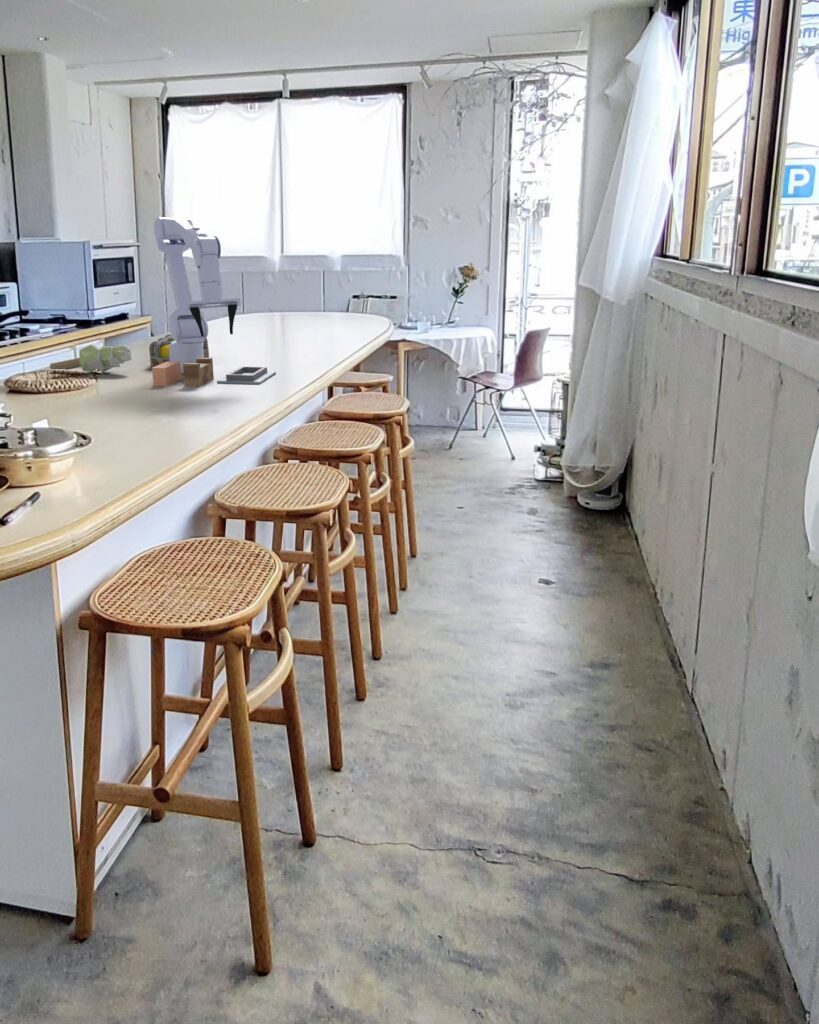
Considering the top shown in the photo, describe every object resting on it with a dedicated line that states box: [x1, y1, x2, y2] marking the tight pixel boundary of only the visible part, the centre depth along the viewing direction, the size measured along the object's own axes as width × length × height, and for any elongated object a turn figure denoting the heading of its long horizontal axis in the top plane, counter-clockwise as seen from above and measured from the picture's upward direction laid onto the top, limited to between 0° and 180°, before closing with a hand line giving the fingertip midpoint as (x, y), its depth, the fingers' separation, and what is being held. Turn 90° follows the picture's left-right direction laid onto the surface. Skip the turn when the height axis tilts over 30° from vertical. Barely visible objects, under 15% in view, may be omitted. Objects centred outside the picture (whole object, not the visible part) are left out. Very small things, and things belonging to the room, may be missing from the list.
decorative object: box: [49, 344, 133, 375], centre depth 244 cm, size 9×10×25 cm
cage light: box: [148, 333, 210, 369], centre depth 264 cm, size 15×8×30 cm
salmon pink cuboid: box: [151, 361, 183, 387], centre depth 231 cm, size 12×4×5 cm, turn 175°
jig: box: [216, 366, 277, 385], centre depth 238 cm, size 12×18×2 cm, turn 175°
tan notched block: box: [183, 357, 215, 388], centre depth 230 cm, size 12×4×6 cm, turn 174°
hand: (217, 335), depth 226 cm, fingers open, 7 cm apart
